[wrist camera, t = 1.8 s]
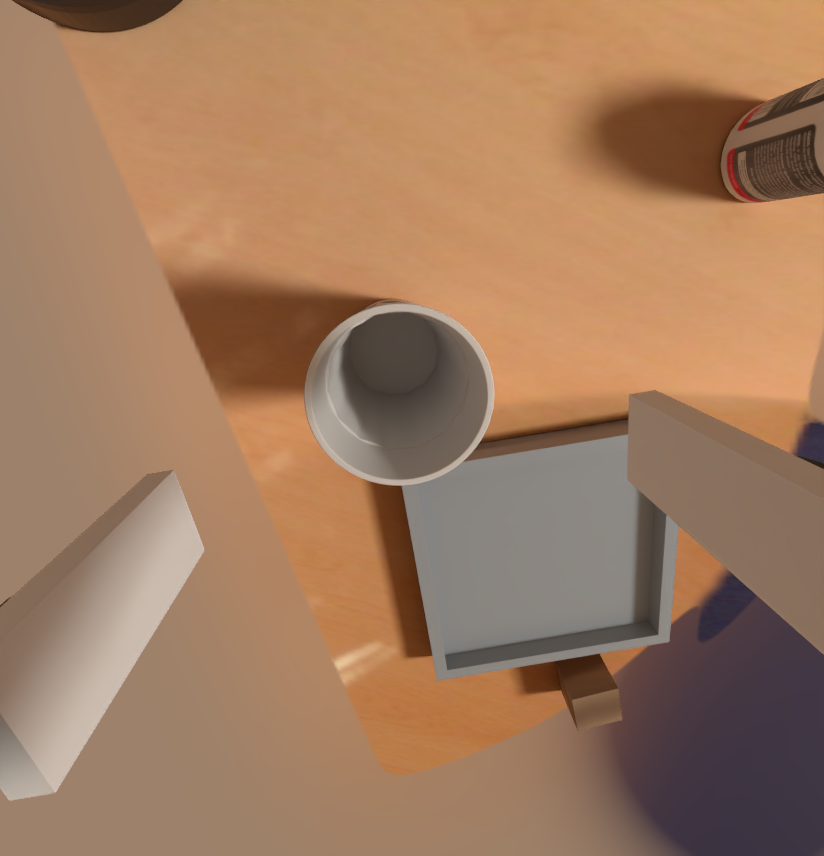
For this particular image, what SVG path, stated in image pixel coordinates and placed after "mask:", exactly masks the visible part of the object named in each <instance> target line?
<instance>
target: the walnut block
mask: <svg viewBox="0 0 824 856" xmlns="http://www.w3.org/2000/svg"><path fill="white" fill-rule="evenodd" d="M555 663H556V668H557V673H558V678H559V683H560V688H561V691H562V694H563V696H564V699H565V701H566V703H567V706H568V708H569V710H570V713H571V715H572V718H573V720H574V723H575V725H576V727H577V730H578V731H579V730H583V729H587V728H591V727H595V726H599V725H603V724H607V723H611V722H615V721H619V720H622V712H621V705H620V698H619V690H618V687H617V685H616V684H615V682H614V680H613V678H612V676H611V674H610V673H609V671H608V669H607V667H606V665H605V663H604V662H603V660H602V658H601V656H600V654H594V655H588V656H582V657H576V658H570V659H564V660H558V661H555Z"/></svg>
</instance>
